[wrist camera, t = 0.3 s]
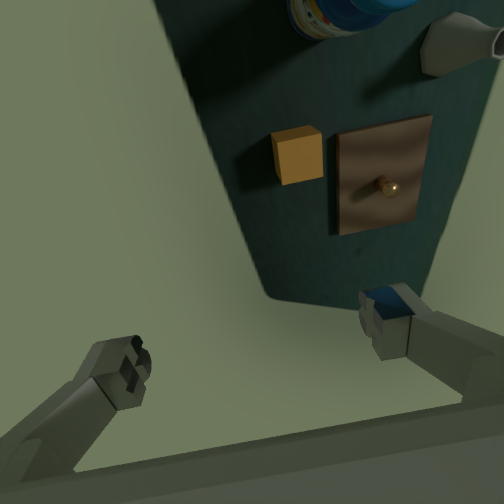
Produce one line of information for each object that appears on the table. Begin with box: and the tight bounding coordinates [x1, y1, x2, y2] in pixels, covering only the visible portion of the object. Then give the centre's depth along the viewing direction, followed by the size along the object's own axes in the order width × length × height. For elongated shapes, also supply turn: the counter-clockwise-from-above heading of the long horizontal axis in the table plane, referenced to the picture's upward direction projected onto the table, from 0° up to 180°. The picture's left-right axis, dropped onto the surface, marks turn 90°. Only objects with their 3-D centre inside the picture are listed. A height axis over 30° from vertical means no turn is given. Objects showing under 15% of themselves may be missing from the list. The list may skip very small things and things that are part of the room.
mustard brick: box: [271, 125, 323, 185], centre depth 41 cm, size 6×6×6 cm
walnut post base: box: [336, 114, 433, 236], centre depth 45 cm, size 18×14×6 cm
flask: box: [420, 11, 504, 77], centre depth 34 cm, size 7×7×10 cm
